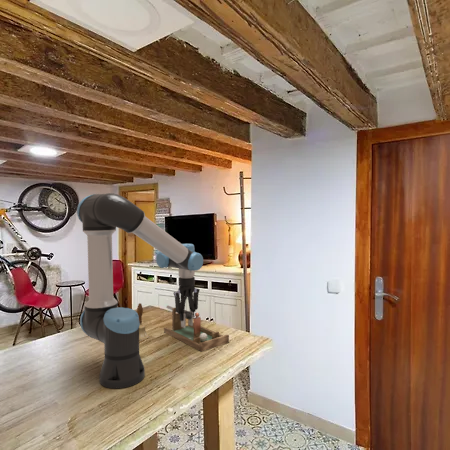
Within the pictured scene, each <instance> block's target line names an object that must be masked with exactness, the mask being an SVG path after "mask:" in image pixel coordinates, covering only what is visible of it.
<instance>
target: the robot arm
mask: <svg viewBox="0 0 450 450" xmlns="http://www.w3.org/2000/svg"><path fill="white" fill-rule="evenodd" d="M76 216H77V218H78V219H79V221H80V223H82V232H83V233H84V234H85V235H86V237H87V268H88V269H87V272H88V274H87V276H88V300H87V301H86V302H85V303H84V309H83V312H81V315H80V319H79V324H80V328H81V330H82V332H83V333H85V335H87V337H90V338H91V339H95V340H97V341H99V342H101V343H103V344H104V348H103V349H104V359H103V363H102V365H101V367H100V372H99V377H98V378H99V384H100V385H101V386H103V387H104V388H107V389H125V388H129V387H132V386H135V385H137V384H138V383H140V382H141V381H143V380H144V378H145V375H146V374H145V371H146V369H145V366H144V363H143V359H142V357H141V355H140V341H139V325H140V323H139V316H138V313H137V310H135V309H133V308H129V307H119V305H118V299H116V298H115V297H114V274H113V273H114V272H113V268H114V267H113V234H114V233H115V232H116V231H117V228H118V229H120V230H123V231H124V232H125V233H127V234H131V233H132V234H134V235H135V236H136V237H138V238H139V239H141V240H142V241H144V242H145V243H147V245H150V246H151V247H153V248H154V249H155V250H157V251H159V252H157V254H156V256H155V261H156V264H157V267H159V268H161V269H168V268H175V269H178V286H179V288H178V290H177V291H173V296H174V302H175V306H174V308H175V307H176V314H177V313H179V314H180V320H181V327H183V328H186V326H188V325H190V326H193V323H194V319H192V318H191V319H186V314H185V313H184V310H186V302H187V301H188V308H189V310H188V311H189V312H191V313H192V314H193V316H195V312H196V311H197V310H198V308H199V293H200V291H201V290H200V289H199V288H197V287H196V286H195V285H196V284H195V283H196V282H195V281H196V278H195V276H196V275H195V273H196V272H197V271H199V270H200V269H202V267H203V264H204V257H203V255H202V254H201V253H199V252H196V251H195V245H194V244H193V243H181V242H180V241H178V240H177V239H176V238H174V237H173V236H172V235H170V234H169V233H168V232H166V231H165V230H164V229H163V228H161V227H160V226H158V225H157V223H155V222H154V221H152V220H151V219H150V218H148V217H147V216H146V214H145V211H143V210H142V209H141V208H140V207H139V206H137V205H136V204H134V203H133V202H132V201H130V200H129V199H127V198H126V197H124V196H122V195H120V194H117V193H112V192H110V193H109V192H108V193H93V194H90V195H87V196H85V197H84V198H82V199H81V200H80V202H78V204H77V208H76ZM186 320H187V321H188V322H187V321H186ZM186 322H187V324H188V325H186Z"/></svg>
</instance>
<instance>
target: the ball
mask: <svg viewBox="0 0 450 450" xmlns="http://www.w3.org/2000/svg"><path fill="white" fill-rule="evenodd" d="M200 340H201V341H206V340H207V334H205V333H202V334H201V335H200Z"/></svg>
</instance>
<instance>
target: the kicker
mask: <svg viewBox="0 0 450 450" xmlns="http://www.w3.org/2000/svg"><path fill="white" fill-rule="evenodd" d="M172 308H174V307H173V306H170V305H166V309H168V310H171V311H172ZM189 311H190V310H187V309H185V310H184V313H185V314H186V320H188V319H191V318H192V319H193V323H194V338H197V337H200V335H201V326H202V324H201V323H202V322H201V319H202V318H201V317H200V313H199V312H196V313H195V312H194V316H193V314H192V313H191V312H189Z"/></svg>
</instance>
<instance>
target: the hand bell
mask: <svg viewBox="0 0 450 450" xmlns="http://www.w3.org/2000/svg"><path fill="white" fill-rule="evenodd" d="M143 311H144V309H143V305H142V303H138V304H137V308H136V312H137V313H138V316H139V323H140V325H139V342H140V341H142V340H144V339H147V338H150V336H149V334H148V333H147V331H146V326H145V324H143V323H142V322H143V321H142V320H143V318H142V317H143V313H144V312H143Z"/></svg>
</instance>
